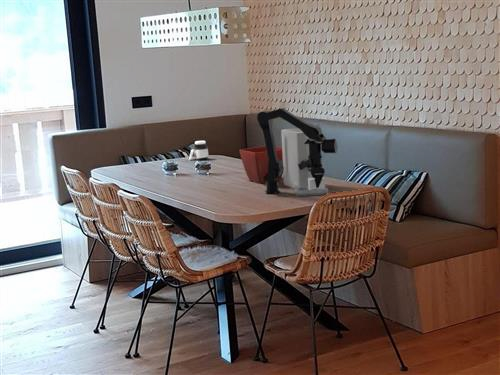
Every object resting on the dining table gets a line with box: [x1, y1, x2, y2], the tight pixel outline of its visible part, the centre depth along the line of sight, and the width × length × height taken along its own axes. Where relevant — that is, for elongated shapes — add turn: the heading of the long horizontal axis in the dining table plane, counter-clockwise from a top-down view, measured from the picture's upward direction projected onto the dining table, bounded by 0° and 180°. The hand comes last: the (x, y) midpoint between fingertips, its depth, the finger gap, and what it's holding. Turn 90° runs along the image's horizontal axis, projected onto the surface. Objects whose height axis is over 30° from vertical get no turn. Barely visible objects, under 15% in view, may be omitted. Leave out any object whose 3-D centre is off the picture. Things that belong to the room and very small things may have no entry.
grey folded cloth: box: [294, 185, 329, 197], centre depth 366 cm, size 10×15×4 cm, turn 92°
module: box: [308, 177, 325, 190], centre depth 365 cm, size 5×7×7 cm
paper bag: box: [280, 128, 312, 189], centre depth 384 cm, size 19×15×28 cm
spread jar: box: [188, 140, 209, 161], centre depth 493 cm, size 12×11×12 cm
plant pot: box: [239, 145, 283, 184], centre depth 405 cm, size 19×19×17 cm
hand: (316, 185), depth 365 cm, fingers open, 9 cm apart
